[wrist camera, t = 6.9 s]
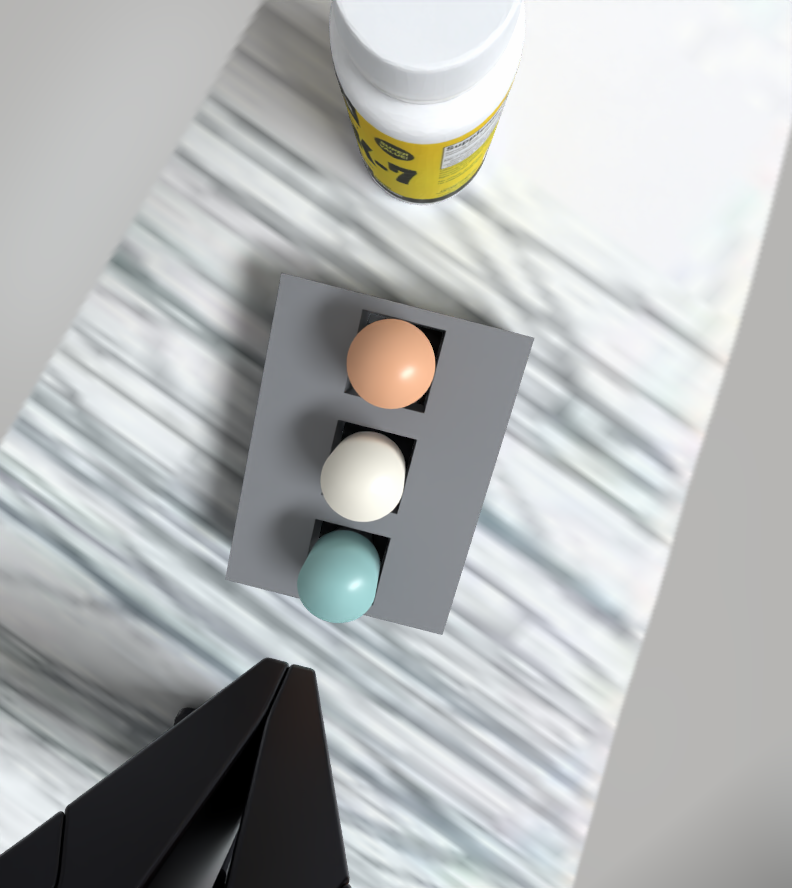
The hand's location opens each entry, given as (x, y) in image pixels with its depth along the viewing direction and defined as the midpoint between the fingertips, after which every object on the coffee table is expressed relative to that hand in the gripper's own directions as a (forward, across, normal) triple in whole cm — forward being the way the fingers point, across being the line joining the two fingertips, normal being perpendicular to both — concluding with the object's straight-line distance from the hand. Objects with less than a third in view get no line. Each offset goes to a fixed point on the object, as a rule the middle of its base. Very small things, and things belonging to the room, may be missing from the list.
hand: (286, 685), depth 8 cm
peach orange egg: (+12, 0, -5) cm, 13 cm away
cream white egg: (+12, 0, -1) cm, 12 cm away
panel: (+12, 0, -1) cm, 13 cm away
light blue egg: (+12, 0, +3) cm, 13 cm away
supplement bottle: (+13, +1, -13) cm, 18 cm away
